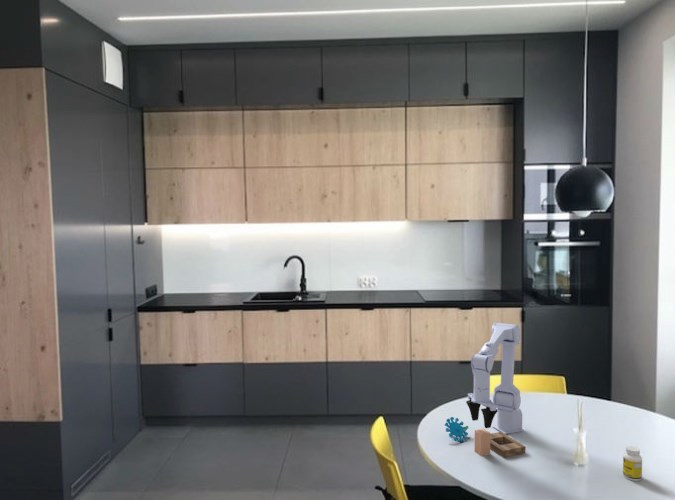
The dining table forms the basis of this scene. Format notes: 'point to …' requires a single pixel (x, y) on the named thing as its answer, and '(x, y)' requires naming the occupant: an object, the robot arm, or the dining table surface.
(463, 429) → the gear
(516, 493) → the dining table surface
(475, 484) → the dining table surface
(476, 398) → the robot arm
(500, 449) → the socket block
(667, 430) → the dining table surface
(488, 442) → the peg
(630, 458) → the supplement bottle
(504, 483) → the dining table surface
